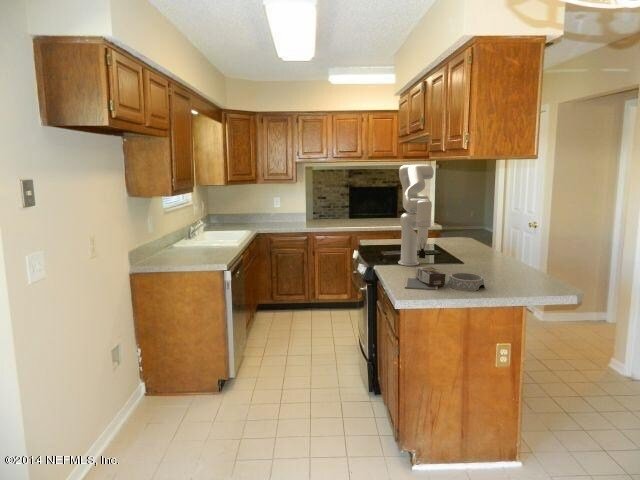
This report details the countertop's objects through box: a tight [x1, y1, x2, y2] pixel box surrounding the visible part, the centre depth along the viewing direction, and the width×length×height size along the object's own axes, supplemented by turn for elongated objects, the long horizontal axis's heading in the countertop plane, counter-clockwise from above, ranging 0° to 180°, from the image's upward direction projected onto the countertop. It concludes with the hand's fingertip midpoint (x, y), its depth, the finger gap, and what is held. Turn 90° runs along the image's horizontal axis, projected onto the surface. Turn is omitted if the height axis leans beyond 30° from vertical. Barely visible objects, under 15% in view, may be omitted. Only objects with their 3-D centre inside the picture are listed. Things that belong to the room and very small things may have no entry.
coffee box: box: [415, 266, 447, 287], centre depth 235 cm, size 9×6×16 cm
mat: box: [404, 277, 439, 291], centre depth 234 cm, size 18×16×1 cm
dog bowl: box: [447, 271, 485, 292], centre depth 231 cm, size 17×18×5 cm
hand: (422, 257), depth 242 cm, fingers closed
